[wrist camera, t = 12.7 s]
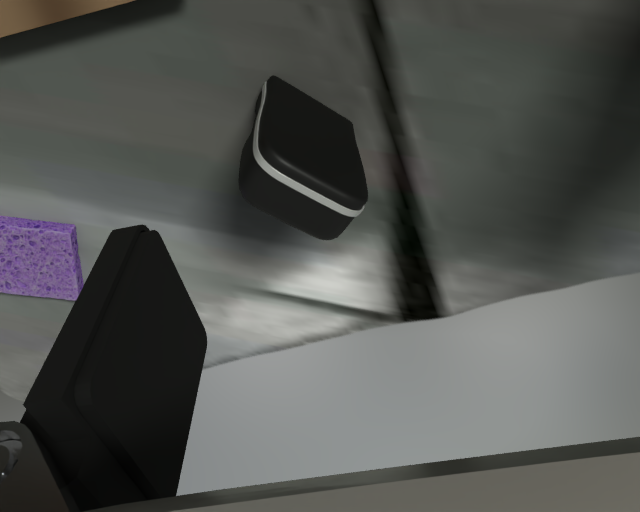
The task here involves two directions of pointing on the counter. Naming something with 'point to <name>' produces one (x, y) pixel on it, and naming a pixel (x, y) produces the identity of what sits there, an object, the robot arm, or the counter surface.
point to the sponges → (39, 259)
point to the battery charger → (302, 163)
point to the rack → (45, 12)
